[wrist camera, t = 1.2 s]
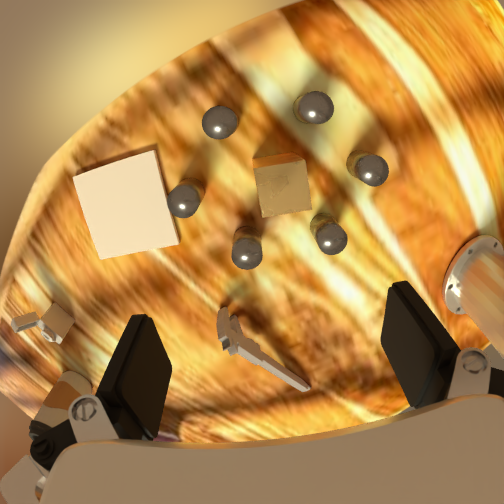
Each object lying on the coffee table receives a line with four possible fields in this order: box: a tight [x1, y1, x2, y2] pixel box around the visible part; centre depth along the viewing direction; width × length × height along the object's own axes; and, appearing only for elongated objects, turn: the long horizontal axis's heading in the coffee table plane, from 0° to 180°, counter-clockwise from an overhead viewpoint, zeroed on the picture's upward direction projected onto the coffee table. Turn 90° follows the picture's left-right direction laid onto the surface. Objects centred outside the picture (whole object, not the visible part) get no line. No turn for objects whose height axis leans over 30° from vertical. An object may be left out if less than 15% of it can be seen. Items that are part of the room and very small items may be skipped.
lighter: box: [11, 302, 75, 344], centre depth 31 cm, size 7×2×8 cm, turn 44°
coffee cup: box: [29, 371, 92, 441], centre depth 35 cm, size 8×8×15 cm
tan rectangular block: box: [252, 152, 312, 218], centre depth 25 cm, size 4×4×6 cm
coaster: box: [73, 150, 180, 260], centre depth 28 cm, size 10×10×1 cm
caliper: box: [217, 307, 311, 392], centre depth 35 cm, size 20×1×6 cm, turn 37°
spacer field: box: [167, 91, 389, 270], centre depth 26 cm, size 20×15×4 cm
